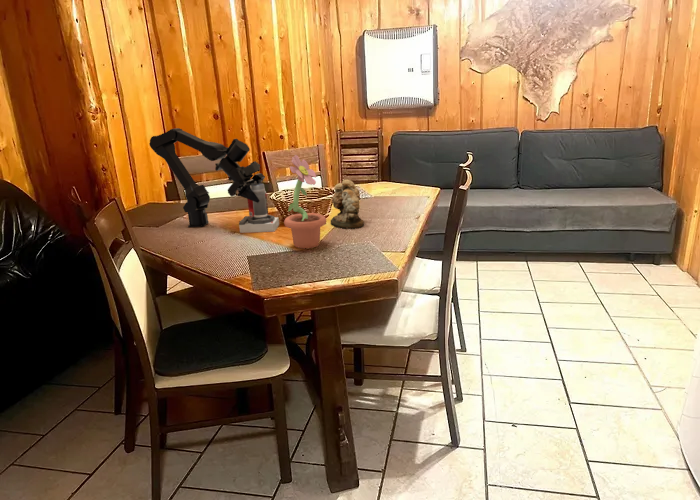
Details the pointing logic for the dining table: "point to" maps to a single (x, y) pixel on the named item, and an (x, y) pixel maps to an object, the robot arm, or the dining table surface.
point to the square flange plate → (258, 224)
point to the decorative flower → (304, 223)
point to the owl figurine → (346, 206)
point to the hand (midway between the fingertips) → (262, 200)
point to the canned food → (251, 209)
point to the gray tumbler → (260, 207)
